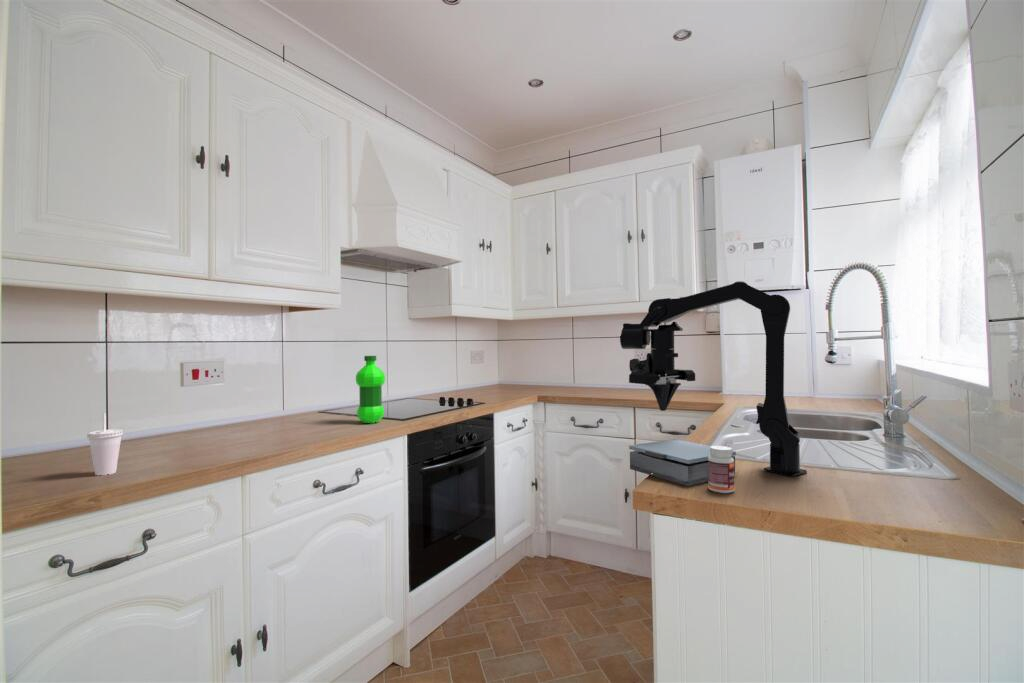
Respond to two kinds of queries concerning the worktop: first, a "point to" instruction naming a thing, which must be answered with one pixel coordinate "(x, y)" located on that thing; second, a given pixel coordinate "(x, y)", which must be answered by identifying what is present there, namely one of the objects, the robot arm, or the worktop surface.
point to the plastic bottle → (370, 391)
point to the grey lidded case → (671, 468)
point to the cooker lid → (676, 450)
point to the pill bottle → (721, 469)
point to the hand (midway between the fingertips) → (662, 410)
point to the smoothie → (105, 449)
